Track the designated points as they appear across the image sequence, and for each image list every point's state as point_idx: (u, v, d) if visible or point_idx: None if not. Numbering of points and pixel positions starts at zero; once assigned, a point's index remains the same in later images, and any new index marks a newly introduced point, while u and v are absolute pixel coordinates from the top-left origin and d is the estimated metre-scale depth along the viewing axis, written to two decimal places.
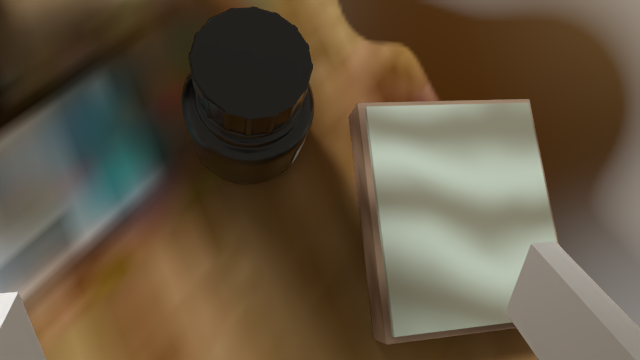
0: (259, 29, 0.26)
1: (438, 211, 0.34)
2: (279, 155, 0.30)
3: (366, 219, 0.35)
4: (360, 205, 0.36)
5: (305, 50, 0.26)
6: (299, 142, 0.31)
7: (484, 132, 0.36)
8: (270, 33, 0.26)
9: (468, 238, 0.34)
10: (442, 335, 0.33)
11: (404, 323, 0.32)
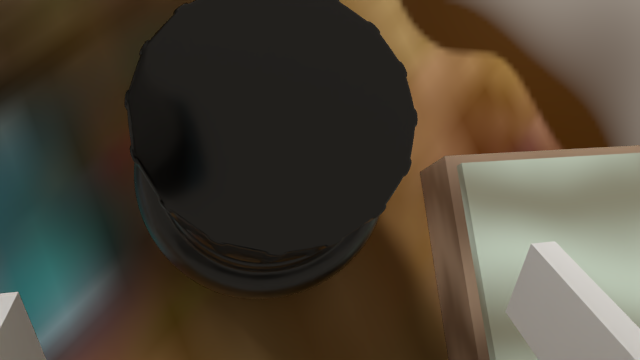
0: (294, 32, 0.11)
1: None
2: (325, 278, 0.15)
3: (464, 357, 0.20)
4: (447, 325, 0.22)
5: (399, 79, 0.11)
6: (361, 248, 0.16)
7: None
8: (320, 41, 0.11)
9: None
10: None
11: None
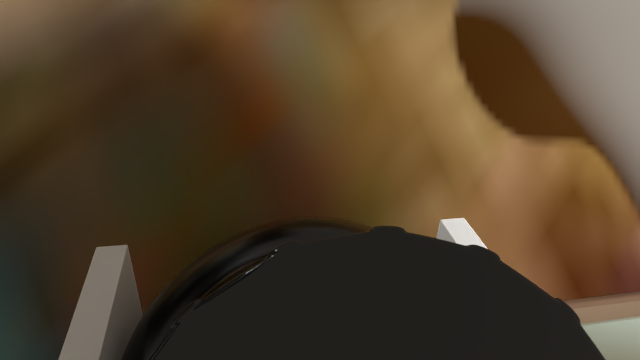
0: (419, 345, 0.05)
1: None
2: None
3: None
4: None
5: None
6: None
7: None
8: None
9: None
10: None
11: None
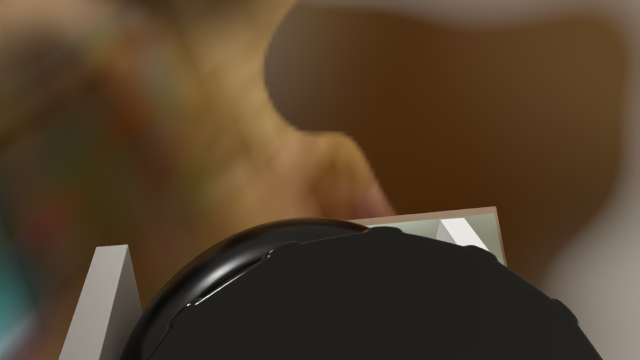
0: (416, 346, 0.05)
1: None
2: None
3: None
4: None
5: None
6: None
7: None
8: None
9: None
10: None
11: None
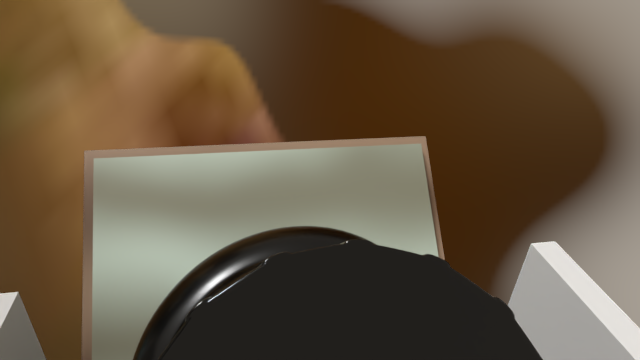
0: (382, 334, 0.07)
1: None
2: None
3: None
4: None
5: None
6: None
7: (332, 202, 0.20)
8: (424, 347, 0.07)
9: None
10: None
11: None
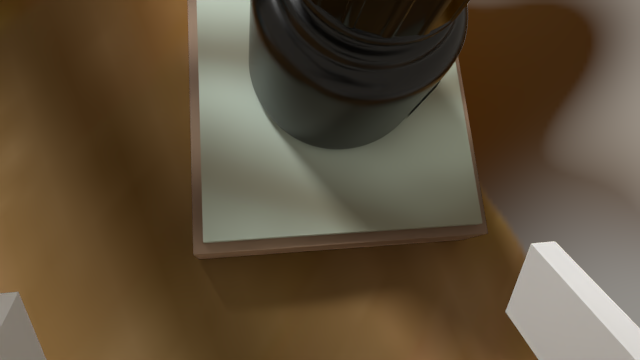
0: None
1: None
2: (419, 88, 0.17)
3: None
4: None
5: None
6: (448, 68, 0.18)
7: None
8: None
9: None
10: (283, 245, 0.22)
11: (221, 223, 0.21)
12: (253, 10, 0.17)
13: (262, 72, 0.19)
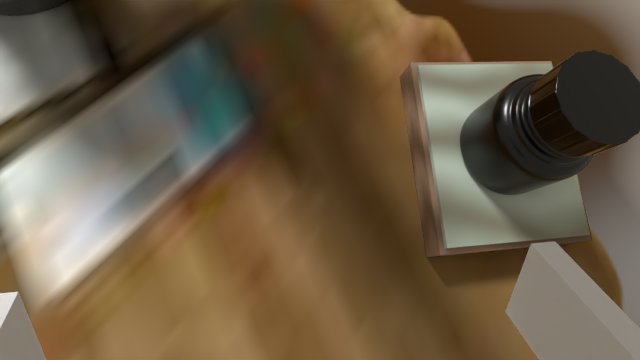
0: (602, 69, 0.31)
1: None
2: (578, 172, 0.35)
3: (419, 158, 0.42)
4: (412, 148, 0.44)
5: (638, 86, 0.31)
6: (590, 160, 0.36)
7: None
8: (610, 72, 0.31)
9: None
10: (485, 249, 0.40)
11: (454, 237, 0.39)
12: (497, 134, 0.35)
13: (488, 159, 0.37)
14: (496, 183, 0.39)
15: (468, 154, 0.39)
